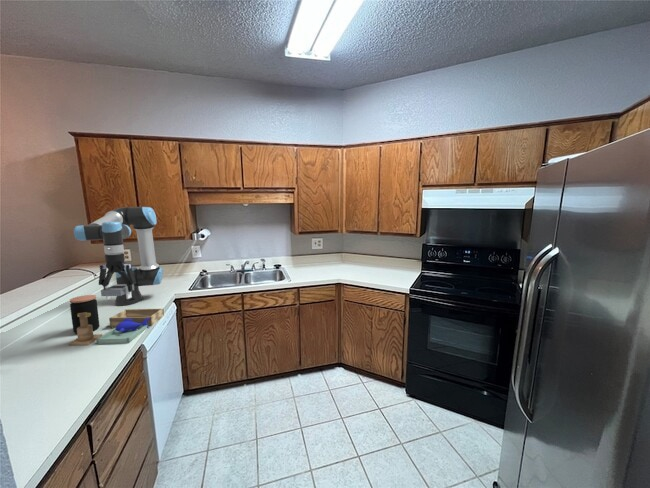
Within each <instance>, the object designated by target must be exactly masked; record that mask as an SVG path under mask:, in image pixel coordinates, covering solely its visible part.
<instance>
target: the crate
mask: <svg viewBox="0 0 650 488" xmlns="http://www.w3.org/2000/svg"><path fill="white" fill-rule="evenodd" d="M164 310H165V309H164V308H137V309H136V308H135V309H134V308H133V309H132V308H131V309H130V308H129V309H125V308H124V310H121V311H120V312H118V313H117V314H114V315H113V316H110V317H109V328H110V329H114V328H116V326H117V325H118V324H119V323H121V322H124V320H125V319H132V320H133V321H132V322H136V323H143V321H144V320H145V319H146V318H149V320H148V321H147V325H148V327H153V325H155V324H156V323H158V321H160V320H161V319H162V318H164V316H165V311H164Z"/></svg>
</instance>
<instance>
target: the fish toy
mask: <svg viewBox="0 0 650 488" xmlns="http://www.w3.org/2000/svg"><path fill="white" fill-rule="evenodd" d="M148 320H149V318H146V319H145V320H144V321H143V323H136V322H132V321H133V320H132V319H125V320H124V322H121V323H119V324H118V325H117V326H116V328H115V330H116V331H128V330H132V331H134V330H139V329H138V328H137V327H138V326H140V325H143V326H146V325H147V321H148ZM147 329H150V326H148V325H147Z"/></svg>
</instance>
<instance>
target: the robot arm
mask: <svg viewBox="0 0 650 488" xmlns="http://www.w3.org/2000/svg"><path fill="white" fill-rule="evenodd" d="M156 225H157V215H156V213H155V210H154V209H153V208H152V207H150V206H124V207H123V206H121V207H117V208H115V209H112V210H109V211H107V212H105V214H104V216H102V217H100V218H98V219H97V220H94V221H93V222H91V223H89V224H87V225H83V224H82V225H76V226H75V227H74V229H73V235H74V238H75V240H77V241H82V242H83V241H85V242H86V241H88V242H89V241H103V249H104V254H105V255H104V260H105V264H101V265H99V270H100V271H99V278H98V286H102V287H103V288H102V289H105V288H108V287H110V286H112V285H111V284H110V282H111V280H112V278H113V275H114V273H115V277H116V278H115V280H116V284H127V285H126V286H125V288H126V294H124V295H122V296H115V305H116V306H121V307H122V306H131V305H134V304H135V305H136V304H138V303H141V302H142V301H143V299H144V298H143V296H142V293H141V291H140V289H139V287H144V286H146V287H147V286H157V285H160V284H161V283H162V280H163V276H164V270H163V267H160V264H158V263H157V256H156V252H155V251H156V250H155V244H154V237H153V236H154V235H153V229H154V228H155V226H156ZM130 226H132V229H133V230H135V231H136V236H137V238H136V239H137V243H138V244H137V245H138V249H139V258H140V263H141V264H140V265H139V268H138V267H137V266H133V265H132V264H131V263H129V264H126V263H125V260H126V259H125V258H126V257H125V253H124V252H125V248H124V240H126V239H127V238H130V236H131V235H132V229H131V227H130ZM132 284H134V290H133V289H132ZM132 290H133V291H132ZM112 298H113V296H105V299H106V300H109V299H112Z"/></svg>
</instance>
